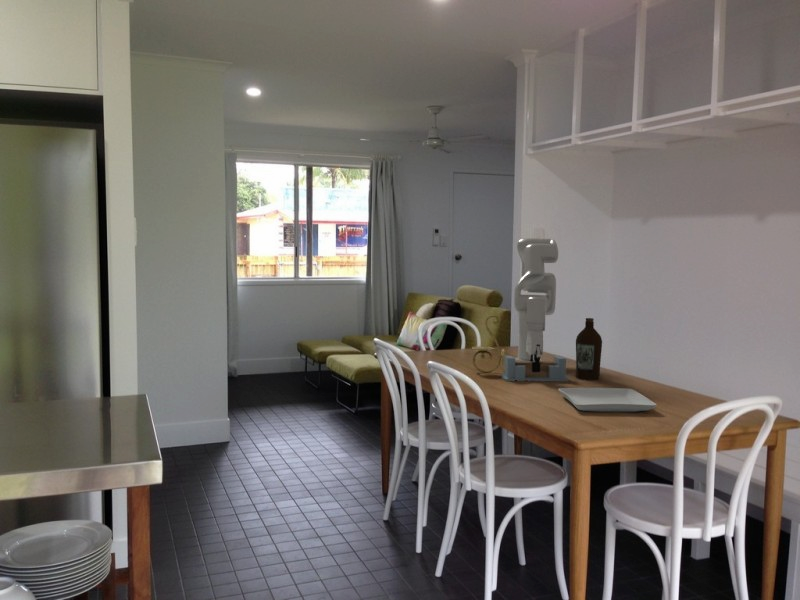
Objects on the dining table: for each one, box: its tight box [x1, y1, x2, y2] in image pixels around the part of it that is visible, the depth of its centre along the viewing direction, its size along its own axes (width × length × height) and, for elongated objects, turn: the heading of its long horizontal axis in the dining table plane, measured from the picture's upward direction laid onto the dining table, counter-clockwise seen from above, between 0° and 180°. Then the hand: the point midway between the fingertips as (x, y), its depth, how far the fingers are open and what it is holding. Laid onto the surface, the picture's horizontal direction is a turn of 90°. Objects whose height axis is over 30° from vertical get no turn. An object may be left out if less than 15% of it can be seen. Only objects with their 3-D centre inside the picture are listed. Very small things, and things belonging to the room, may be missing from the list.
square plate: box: [557, 387, 658, 413], centre depth 246 cm, size 27×27×4 cm
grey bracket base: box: [500, 355, 570, 382], centre depth 292 cm, size 10×26×9 cm, turn 93°
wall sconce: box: [471, 314, 506, 373], centre depth 304 cm, size 14×10×25 cm
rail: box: [515, 360, 555, 377], centre depth 292 cm, size 4×16×6 cm, turn 93°
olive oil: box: [575, 317, 603, 381], centre depth 295 cm, size 11×11×25 cm
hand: (534, 370), depth 292 cm, fingers closed on rail, 4 cm apart
